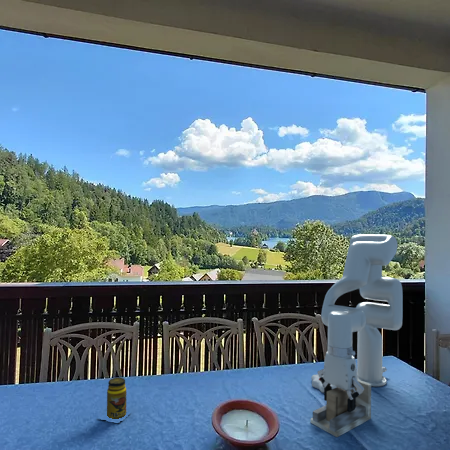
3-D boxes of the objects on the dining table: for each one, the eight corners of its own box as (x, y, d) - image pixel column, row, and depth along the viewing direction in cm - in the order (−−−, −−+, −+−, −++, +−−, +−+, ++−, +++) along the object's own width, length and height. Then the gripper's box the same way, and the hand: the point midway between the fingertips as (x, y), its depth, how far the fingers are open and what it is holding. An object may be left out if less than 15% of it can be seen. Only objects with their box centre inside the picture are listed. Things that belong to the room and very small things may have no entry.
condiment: (119, 424, 114) (119, 386, 114) (96, 419, 117) (96, 382, 117) (131, 413, 121) (132, 377, 121) (110, 409, 124) (110, 373, 124)
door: (343, 411, 121) (343, 384, 121) (351, 415, 119) (351, 387, 119) (326, 420, 116) (326, 391, 116) (334, 424, 113) (334, 395, 113)
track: (344, 406, 127) (344, 374, 127) (370, 418, 119) (371, 384, 119) (310, 422, 117) (310, 387, 117) (336, 437, 109) (337, 399, 109)
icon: (306, 370, 149) (330, 369, 150) (306, 380, 149) (330, 380, 150) (317, 383, 137) (343, 382, 138) (317, 394, 137) (342, 393, 138)
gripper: (371, 355, 113) (370, 412, 113) (325, 341, 127) (324, 391, 127) (357, 361, 108) (356, 420, 108) (310, 345, 122) (310, 397, 122)
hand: (339, 404), depth 117 cm, fingers open, 8 cm apart
